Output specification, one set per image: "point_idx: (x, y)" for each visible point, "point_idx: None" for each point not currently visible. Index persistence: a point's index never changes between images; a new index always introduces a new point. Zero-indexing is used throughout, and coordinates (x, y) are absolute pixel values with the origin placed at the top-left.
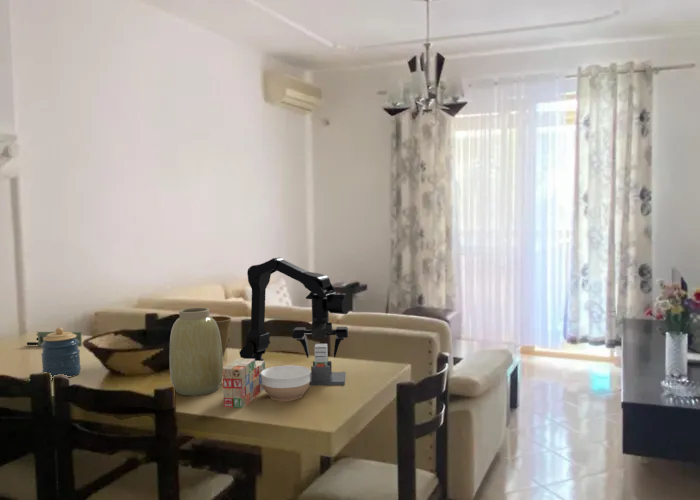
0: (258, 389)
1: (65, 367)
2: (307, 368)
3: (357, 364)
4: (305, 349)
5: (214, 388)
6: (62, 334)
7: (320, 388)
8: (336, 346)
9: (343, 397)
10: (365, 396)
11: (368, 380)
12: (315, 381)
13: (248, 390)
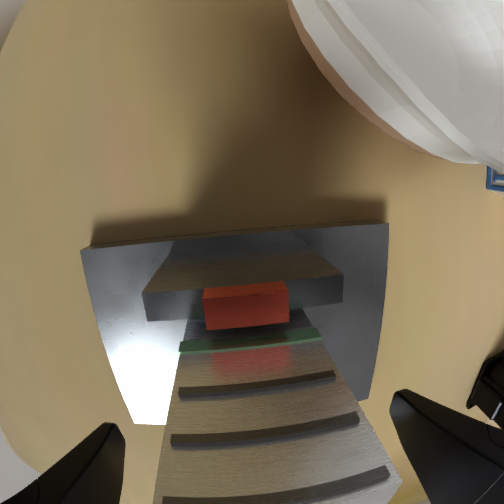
0: None
1: None
2: (358, 21)
3: (150, 499)
4: (471, 426)
5: None
6: None
7: (226, 161)
8: (34, 498)
9: (85, 25)
10: (2, 72)
11: (19, 330)
12: (275, 241)
13: None
